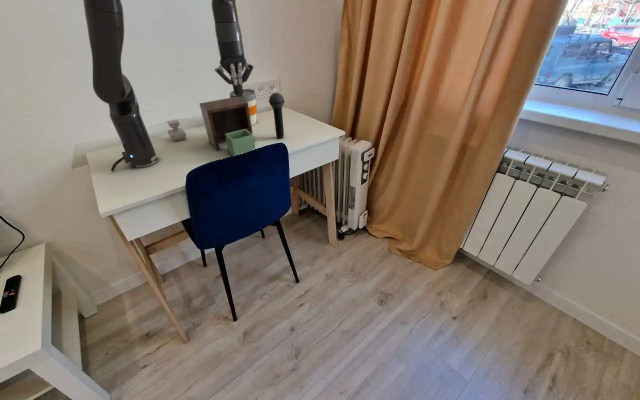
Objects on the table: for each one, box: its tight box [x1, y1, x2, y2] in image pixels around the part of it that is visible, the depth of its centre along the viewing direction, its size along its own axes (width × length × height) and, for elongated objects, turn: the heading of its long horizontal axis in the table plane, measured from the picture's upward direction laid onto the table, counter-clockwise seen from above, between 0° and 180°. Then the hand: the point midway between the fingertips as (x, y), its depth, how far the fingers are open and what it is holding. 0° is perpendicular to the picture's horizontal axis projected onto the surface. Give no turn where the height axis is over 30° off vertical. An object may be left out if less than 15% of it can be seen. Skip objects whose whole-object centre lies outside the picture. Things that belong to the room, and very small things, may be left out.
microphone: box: [268, 92, 285, 140], centre depth 123 cm, size 7×7×20 cm
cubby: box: [199, 97, 254, 152], centre depth 121 cm, size 17×11×17 cm, turn 124°
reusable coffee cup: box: [229, 88, 258, 126], centre depth 140 cm, size 13×13×15 cm
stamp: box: [166, 119, 187, 142], centre depth 126 cm, size 9×7×8 cm
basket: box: [225, 129, 257, 157], centre depth 115 cm, size 9×8×8 cm
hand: (239, 95), depth 97 cm, fingers closed
